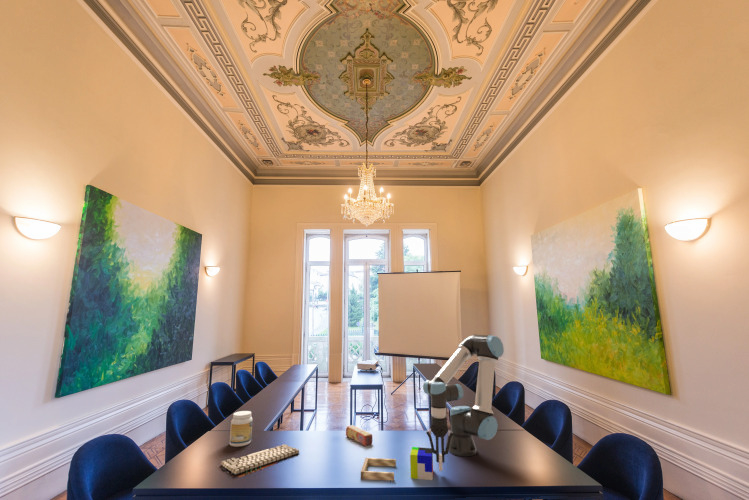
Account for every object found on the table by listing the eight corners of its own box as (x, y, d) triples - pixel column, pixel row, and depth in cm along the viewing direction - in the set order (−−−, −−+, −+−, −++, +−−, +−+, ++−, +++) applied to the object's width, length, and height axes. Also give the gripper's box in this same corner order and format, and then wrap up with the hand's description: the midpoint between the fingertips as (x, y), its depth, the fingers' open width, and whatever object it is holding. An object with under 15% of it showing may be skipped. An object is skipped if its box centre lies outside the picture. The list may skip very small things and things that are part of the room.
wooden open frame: (395, 465, 168) (395, 459, 169) (393, 480, 153) (393, 473, 153) (365, 464, 170) (365, 457, 171) (360, 478, 155) (360, 471, 155)
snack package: (373, 445, 197) (373, 432, 198) (364, 447, 193) (364, 434, 194) (353, 435, 213) (354, 423, 215) (345, 437, 209) (345, 425, 211)
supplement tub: (253, 444, 197) (255, 413, 201) (231, 449, 190) (234, 417, 194) (248, 438, 207) (250, 409, 210) (227, 442, 200) (229, 412, 204)
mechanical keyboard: (282, 447, 195) (282, 440, 195) (302, 456, 182) (302, 449, 183) (217, 468, 167) (217, 461, 168) (235, 481, 155) (235, 473, 155)
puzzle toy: (432, 480, 153) (431, 456, 155) (410, 478, 155) (410, 454, 157) (433, 470, 163) (432, 448, 165) (412, 469, 165) (412, 446, 167)
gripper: (451, 414, 166) (453, 467, 161) (425, 413, 168) (426, 465, 163) (453, 418, 159) (455, 474, 154) (425, 417, 160) (427, 472, 156)
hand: (440, 469), depth 158 cm, fingers closed
